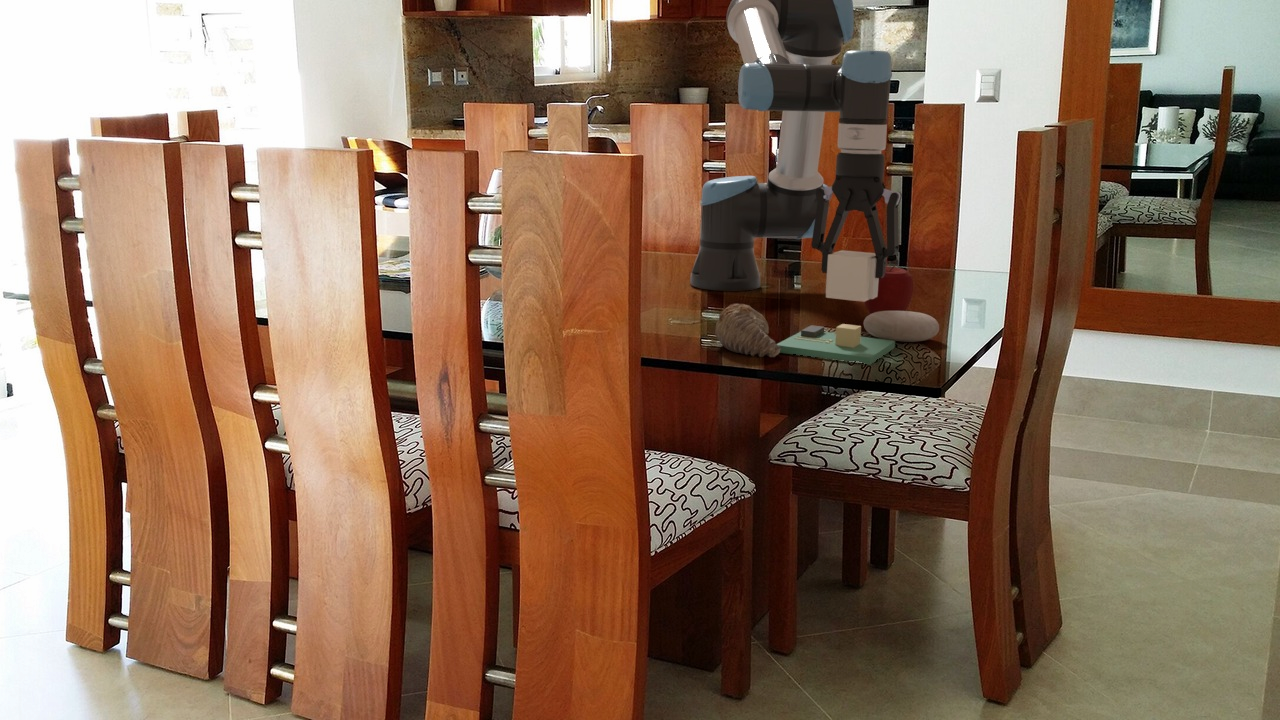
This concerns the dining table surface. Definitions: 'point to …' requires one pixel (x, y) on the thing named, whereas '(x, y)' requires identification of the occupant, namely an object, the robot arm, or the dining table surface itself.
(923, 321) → the decorative stone
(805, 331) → the board
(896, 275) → the apple
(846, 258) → the plug
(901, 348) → the dining table surface
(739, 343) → the seashell
